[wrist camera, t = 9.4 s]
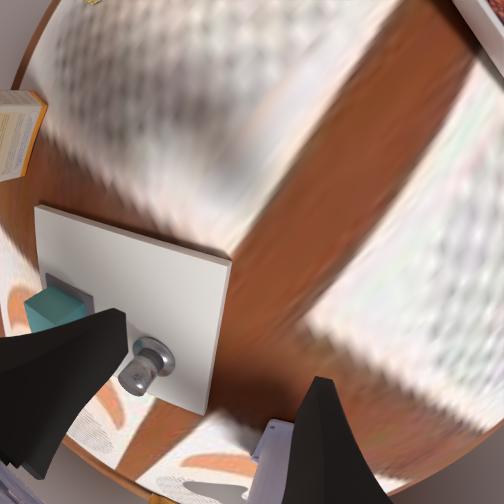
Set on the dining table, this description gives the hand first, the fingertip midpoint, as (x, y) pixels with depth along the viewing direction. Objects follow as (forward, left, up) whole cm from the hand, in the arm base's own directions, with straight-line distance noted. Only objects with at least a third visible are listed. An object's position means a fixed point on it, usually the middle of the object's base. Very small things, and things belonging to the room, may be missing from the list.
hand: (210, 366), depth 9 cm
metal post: (-10, +7, -9) cm, 15 cm away
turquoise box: (-10, +17, -8) cm, 21 cm away
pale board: (-8, +12, -9) cm, 17 cm away
